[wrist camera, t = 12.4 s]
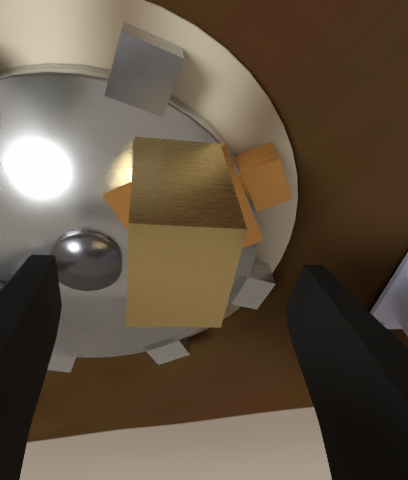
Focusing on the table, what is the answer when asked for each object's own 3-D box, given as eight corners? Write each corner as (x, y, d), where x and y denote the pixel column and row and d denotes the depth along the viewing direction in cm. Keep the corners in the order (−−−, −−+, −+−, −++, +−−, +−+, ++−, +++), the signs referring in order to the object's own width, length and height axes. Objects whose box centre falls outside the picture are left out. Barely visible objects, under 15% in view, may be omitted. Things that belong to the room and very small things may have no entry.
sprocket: (196, -104, 11) (225, -125, 6) (315, 290, 22) (355, 377, 18) (-272, 147, 13) (-464, 247, 9) (46, 380, 25) (25, 474, 20)
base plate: (362, 24, 14) (366, 27, 13) (247, 347, 26) (248, 352, 26) (-291, -76, 10) (-305, -76, 10) (-72, 349, 23) (-74, 355, 22)
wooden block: (135, 136, 13) (128, 223, 9) (220, 143, 14) (247, 229, 10) (132, 228, 16) (125, 326, 12) (204, 231, 16) (221, 327, 12)
